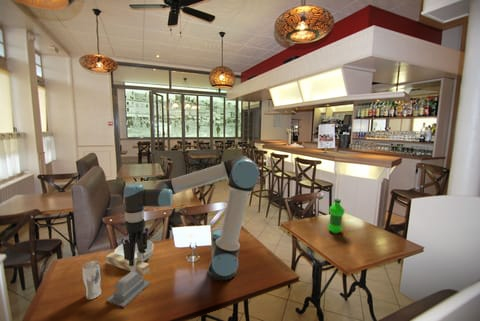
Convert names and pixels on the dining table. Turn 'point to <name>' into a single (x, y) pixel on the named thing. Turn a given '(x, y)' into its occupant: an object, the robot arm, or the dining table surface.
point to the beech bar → (127, 263)
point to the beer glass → (92, 279)
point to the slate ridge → (127, 289)
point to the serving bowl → (147, 254)
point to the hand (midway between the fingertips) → (136, 268)
